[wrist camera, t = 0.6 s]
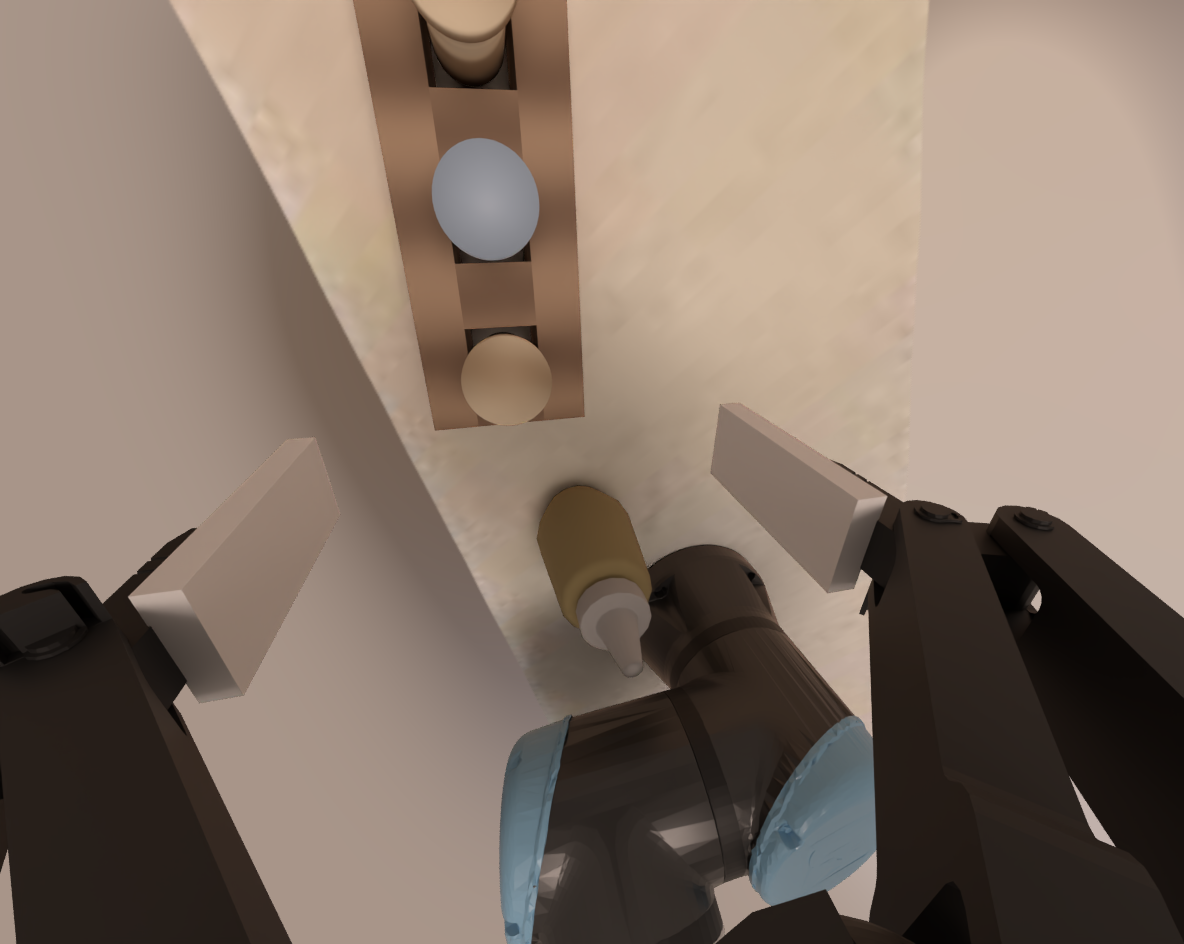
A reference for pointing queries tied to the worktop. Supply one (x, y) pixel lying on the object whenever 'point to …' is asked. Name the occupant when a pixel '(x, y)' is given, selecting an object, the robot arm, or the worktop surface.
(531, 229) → the slate plug
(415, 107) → the walnut block
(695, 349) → the worktop surface
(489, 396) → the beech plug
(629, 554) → the squeeze bottle
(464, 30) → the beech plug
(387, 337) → the worktop surface
